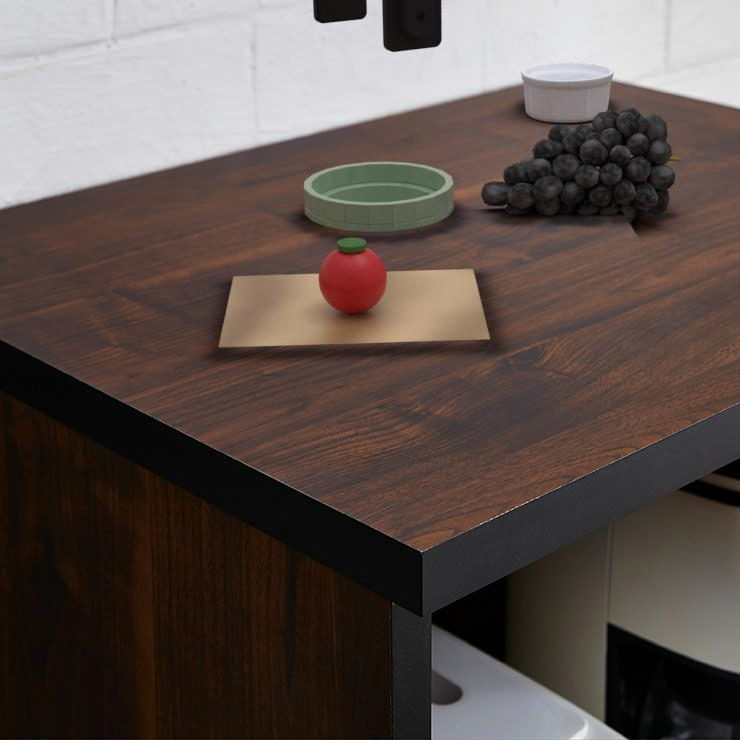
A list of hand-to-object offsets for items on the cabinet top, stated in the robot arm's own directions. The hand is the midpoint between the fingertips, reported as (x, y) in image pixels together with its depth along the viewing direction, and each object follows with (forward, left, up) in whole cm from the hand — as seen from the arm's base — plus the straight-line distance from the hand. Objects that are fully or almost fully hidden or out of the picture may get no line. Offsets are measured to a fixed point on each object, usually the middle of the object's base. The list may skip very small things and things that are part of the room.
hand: (374, 33), depth 78 cm
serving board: (-2, +2, -19) cm, 19 cm away
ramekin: (+19, +55, -19) cm, 61 cm away
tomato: (-2, +1, -17) cm, 17 cm away
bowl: (0, +22, -19) cm, 29 cm away
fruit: (+15, +22, -19) cm, 33 cm away
